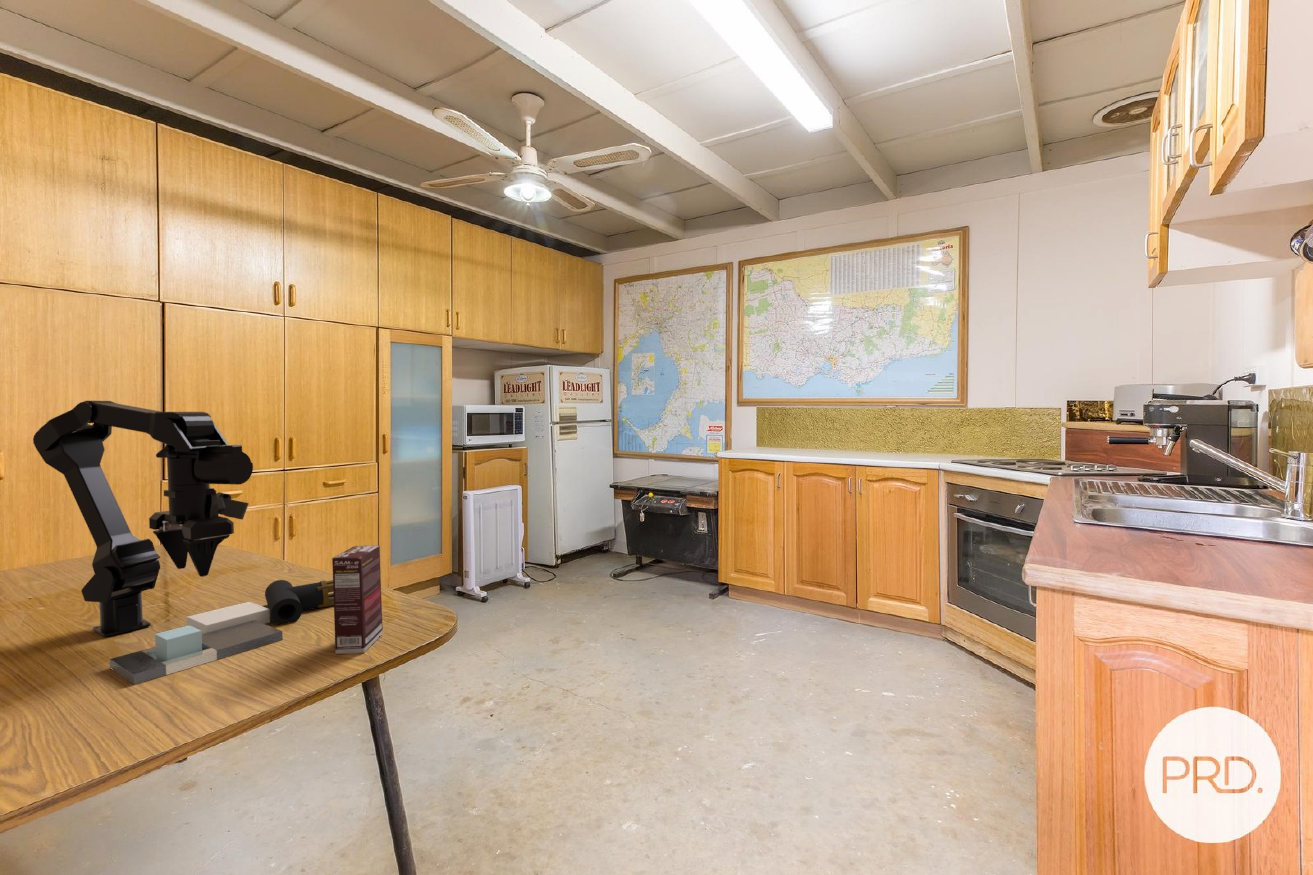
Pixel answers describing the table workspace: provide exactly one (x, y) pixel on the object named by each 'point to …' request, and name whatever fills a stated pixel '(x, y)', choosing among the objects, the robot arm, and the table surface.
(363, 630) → the supplement box
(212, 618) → the stand
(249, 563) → the table surface
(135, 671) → the plate
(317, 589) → the pipe connector
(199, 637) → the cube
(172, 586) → the table surface
